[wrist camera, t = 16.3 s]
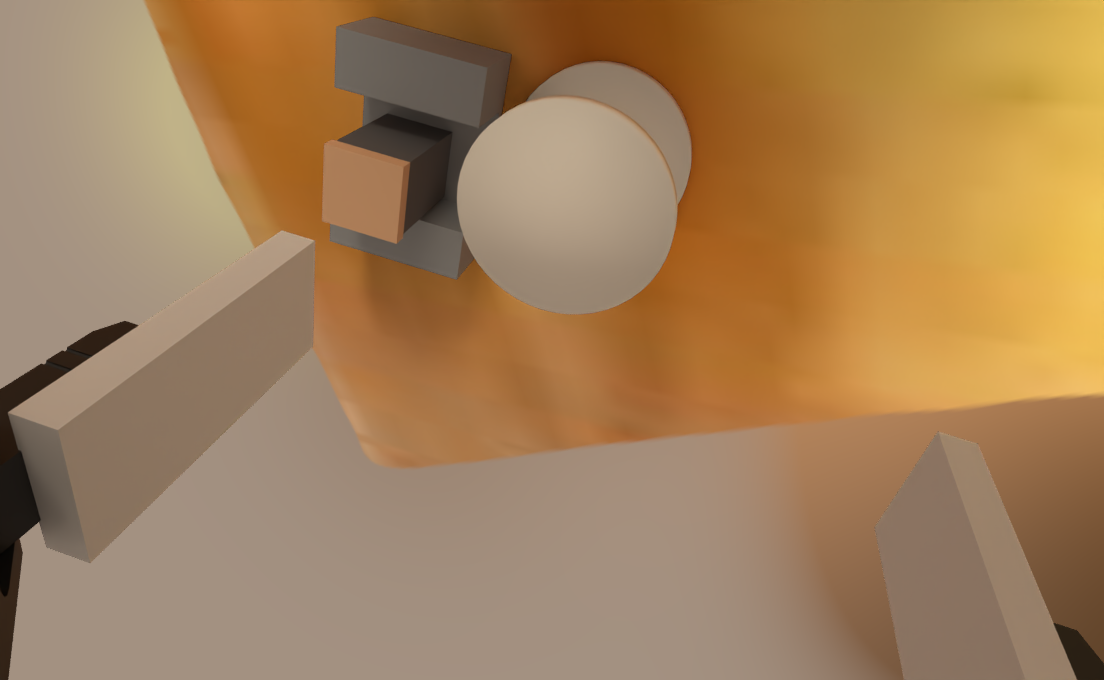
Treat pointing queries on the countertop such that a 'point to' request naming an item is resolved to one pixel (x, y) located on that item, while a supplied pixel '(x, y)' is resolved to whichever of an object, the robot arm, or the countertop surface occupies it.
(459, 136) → the notch board
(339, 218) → the tan and grey block
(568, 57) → the countertop surface
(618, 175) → the bobbin
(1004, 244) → the countertop surface
